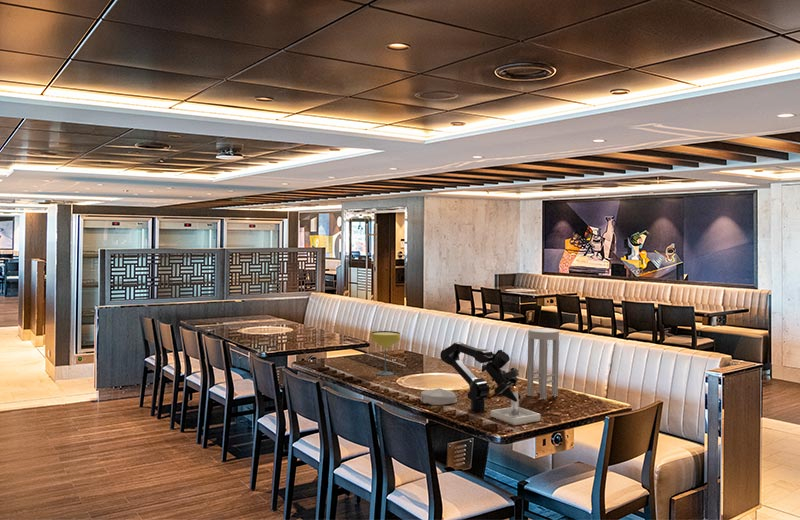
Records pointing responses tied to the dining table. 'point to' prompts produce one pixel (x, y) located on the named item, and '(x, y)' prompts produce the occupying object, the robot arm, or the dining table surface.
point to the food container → (438, 397)
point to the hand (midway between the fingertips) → (518, 400)
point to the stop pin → (515, 404)
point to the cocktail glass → (385, 343)
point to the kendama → (492, 390)
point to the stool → (543, 361)
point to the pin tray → (526, 417)
